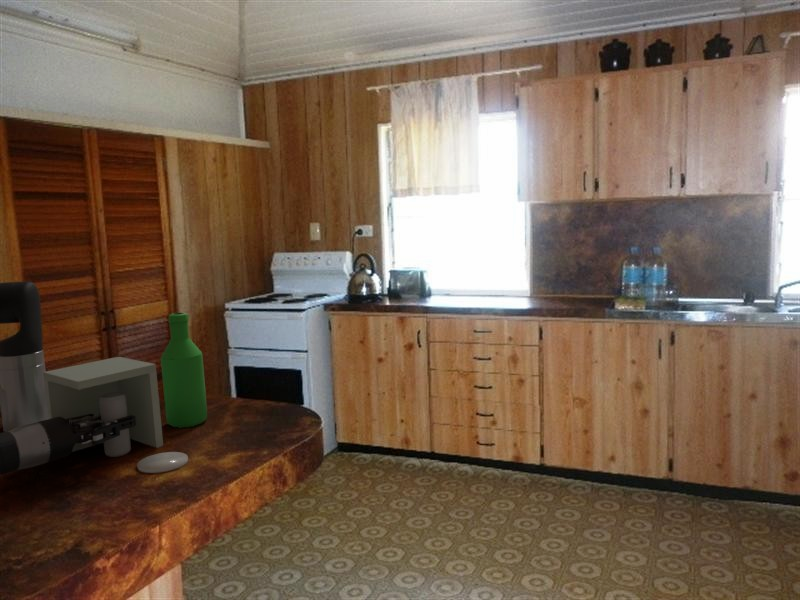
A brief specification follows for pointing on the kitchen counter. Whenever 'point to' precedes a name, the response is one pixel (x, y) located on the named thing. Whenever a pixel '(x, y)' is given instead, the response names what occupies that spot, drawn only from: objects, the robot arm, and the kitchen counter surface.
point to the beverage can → (115, 409)
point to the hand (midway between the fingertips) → (127, 418)
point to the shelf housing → (85, 383)
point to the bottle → (183, 376)
